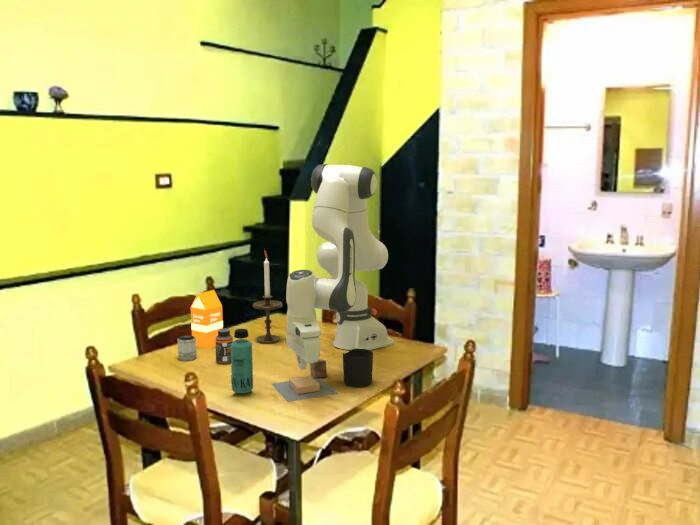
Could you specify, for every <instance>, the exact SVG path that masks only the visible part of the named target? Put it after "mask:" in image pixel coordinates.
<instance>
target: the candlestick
mask: <svg viewBox="0 0 700 525" xmlns="http://www.w3.org/2000/svg"><path fill="white" fill-rule="evenodd" d="M264 256H265V260H264V261H263V268H264V269H263V270H264V271H263V272H264V273H263V274H264V277H263V278H264V295H262V298H263V299H264V300H258V301H255V302H253V303H252V307H253V308H254V309H257V310H263V311H265V320H264V324H265V327H264V328H265V330H266V333H265V334H263V335H259V336H258V337H256V343H258V344H262V345H271V344H273V345H274V344H277V343H279V342H281V336H279V335H277V334H271V329H272V326H271V324H272V322H273V321H272V319H271V317H270V316H271V314H270V313H271V312H270V311H272V310H277V309H280V308H282V307H283V302H282V301H280V300H273V299H272V300H271V298H274V297H273V296H272V295H271V286H270V285H271V284H270V261H268V254H267V251H266V250H265V249H264Z"/></svg>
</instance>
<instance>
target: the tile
mask: <svg viewBox="0 0 700 525" xmlns="http://www.w3.org/2000/svg"><path fill="white" fill-rule="evenodd" d="M288 381H289V386H290V387H291V388H292V389H293V390H294V391H295V392H296V393H297V394H302V393H309V392H315V391H320V384H319V383H318V382H317V381H316V380H314V379H313V377H312V376H311V375H307V376H301V377H295V378H289V379H288Z"/></svg>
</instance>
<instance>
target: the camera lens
mask: <svg viewBox="0 0 700 525" xmlns="http://www.w3.org/2000/svg"><path fill="white" fill-rule="evenodd" d="M177 354H178V359H179V360H180V361H182V362H183V361H184V362H187V361H193V360H195V359H196V358H197V346H196V338H195V337H194V336H192V334H189V335H188V334H187V335H181V336H179V337H178V338H177Z"/></svg>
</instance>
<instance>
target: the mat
mask: <svg viewBox="0 0 700 525" xmlns="http://www.w3.org/2000/svg"><path fill="white" fill-rule="evenodd" d="M312 378H313V379H314V380H316V381H317V382H318V383H319V384H320V391H315V392H309V393H302V394H297V393H296V392H295V391H294V390H293V389H292V388H291V387H290V386H289V380H286V381H281V382H274V383H271V385H272V386H273V387H274V389H275V390H276V391H277V392H278V393H279V395H281V397H282V398H283V399H284V400H285V401H286V402H287V403H290V402H295V401H302V400H308V399H309V400H310V399H313V398H320V397H326V396H331V395H333V396H334V395H338V394H339V392H338V391H337V390H336V389H334V388H333V387H332V386H331V385H330V384H329V383H327V382H326V381H325V380H324V379H323V377H319V378H314V377H312Z"/></svg>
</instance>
